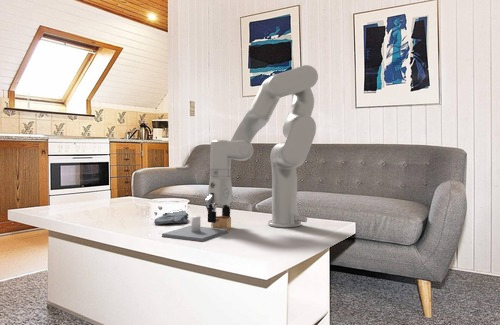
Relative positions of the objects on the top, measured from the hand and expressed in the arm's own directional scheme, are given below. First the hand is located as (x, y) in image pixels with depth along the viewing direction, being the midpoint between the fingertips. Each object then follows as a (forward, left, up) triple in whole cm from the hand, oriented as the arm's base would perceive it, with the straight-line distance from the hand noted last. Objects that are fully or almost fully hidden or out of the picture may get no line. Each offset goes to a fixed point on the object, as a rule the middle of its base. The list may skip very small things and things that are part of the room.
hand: (219, 220), depth 147 cm
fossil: (+23, -4, -4) cm, 24 cm away
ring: (-1, -1, -3) cm, 3 cm away
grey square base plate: (+1, +12, -3) cm, 13 cm away
